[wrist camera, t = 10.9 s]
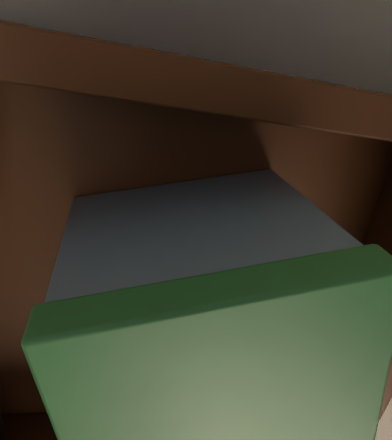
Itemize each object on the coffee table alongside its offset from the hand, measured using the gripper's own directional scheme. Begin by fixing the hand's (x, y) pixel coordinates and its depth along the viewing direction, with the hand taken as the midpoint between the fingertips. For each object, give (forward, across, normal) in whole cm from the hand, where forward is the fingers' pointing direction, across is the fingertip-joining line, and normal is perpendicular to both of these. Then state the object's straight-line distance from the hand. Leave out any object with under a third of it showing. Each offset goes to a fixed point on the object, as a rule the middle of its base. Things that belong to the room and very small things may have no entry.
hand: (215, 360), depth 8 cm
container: (+3, 0, 0) cm, 3 cm away
